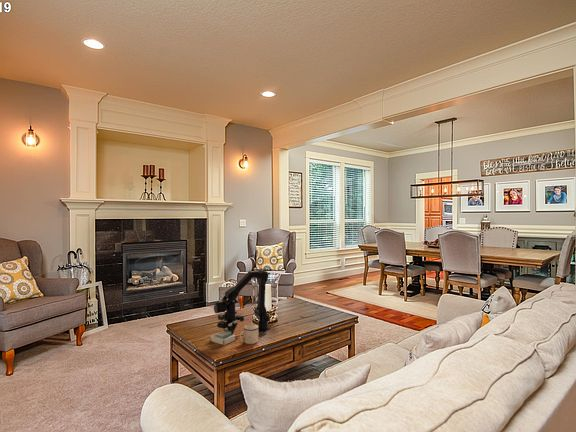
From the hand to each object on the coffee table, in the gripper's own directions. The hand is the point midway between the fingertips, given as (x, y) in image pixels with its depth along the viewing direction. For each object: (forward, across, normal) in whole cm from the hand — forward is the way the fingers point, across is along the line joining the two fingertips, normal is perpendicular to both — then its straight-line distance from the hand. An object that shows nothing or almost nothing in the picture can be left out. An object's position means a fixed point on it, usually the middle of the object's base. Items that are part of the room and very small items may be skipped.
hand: (231, 335), depth 208 cm
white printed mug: (+1, 0, +15) cm, 15 cm away
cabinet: (+1, +6, 0) cm, 6 cm away
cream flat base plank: (+1, +7, 0) cm, 7 cm away
